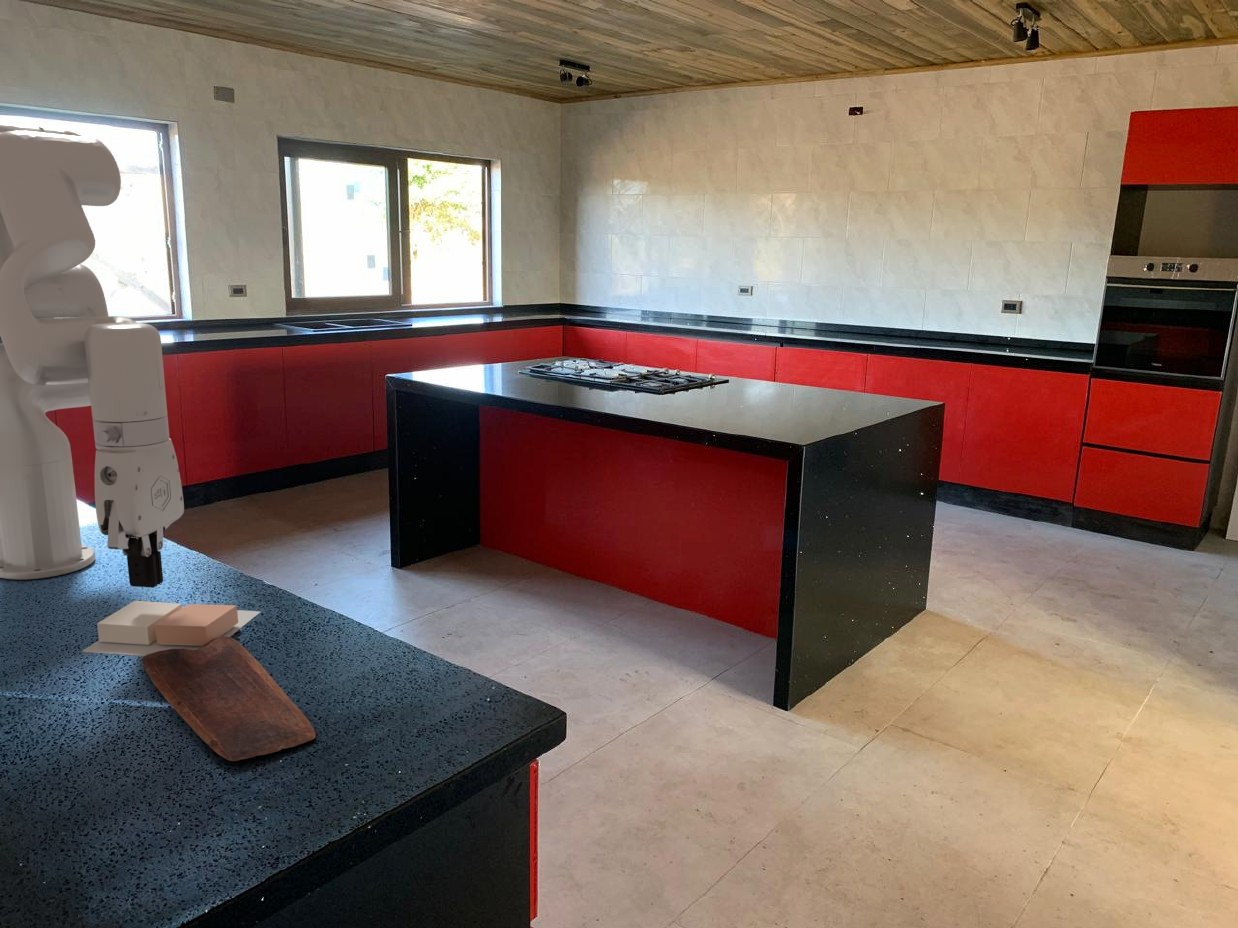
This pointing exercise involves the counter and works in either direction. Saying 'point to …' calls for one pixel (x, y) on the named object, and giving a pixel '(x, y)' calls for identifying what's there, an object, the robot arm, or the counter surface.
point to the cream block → (135, 622)
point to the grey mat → (155, 647)
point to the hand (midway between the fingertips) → (146, 584)
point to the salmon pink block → (196, 624)
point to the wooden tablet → (228, 699)
